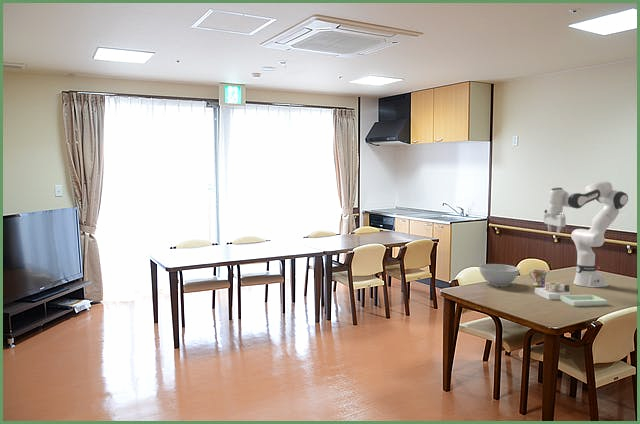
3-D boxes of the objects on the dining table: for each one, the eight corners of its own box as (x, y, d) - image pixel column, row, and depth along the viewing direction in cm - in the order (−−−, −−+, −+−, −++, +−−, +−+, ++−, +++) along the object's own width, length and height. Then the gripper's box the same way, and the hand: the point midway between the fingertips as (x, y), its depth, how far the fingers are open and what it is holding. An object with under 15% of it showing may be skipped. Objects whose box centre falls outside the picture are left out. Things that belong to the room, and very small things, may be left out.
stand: (555, 292, 341) (555, 287, 341) (570, 298, 325) (570, 293, 325) (534, 293, 339) (534, 287, 339) (548, 299, 323) (548, 294, 323)
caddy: (565, 294, 337) (566, 282, 336) (571, 296, 331) (571, 284, 330) (544, 295, 335) (544, 283, 334) (549, 297, 329) (550, 285, 328)
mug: (548, 286, 358) (549, 271, 357) (542, 288, 352) (543, 273, 351) (531, 283, 367) (532, 268, 366) (525, 285, 361) (526, 270, 360)
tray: (591, 299, 325) (592, 294, 325) (607, 305, 312) (607, 300, 311) (559, 300, 322) (560, 295, 322) (573, 306, 308) (574, 301, 308)
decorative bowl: (470, 281, 370) (471, 265, 368) (500, 279, 379) (501, 262, 378) (495, 290, 345) (496, 272, 344) (527, 287, 354) (528, 270, 353)
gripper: (568, 213, 336) (567, 234, 338) (551, 210, 357) (549, 230, 358) (560, 213, 336) (558, 234, 337) (542, 210, 356) (541, 230, 357)
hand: (554, 232), depth 348 cm, fingers open, 8 cm apart
